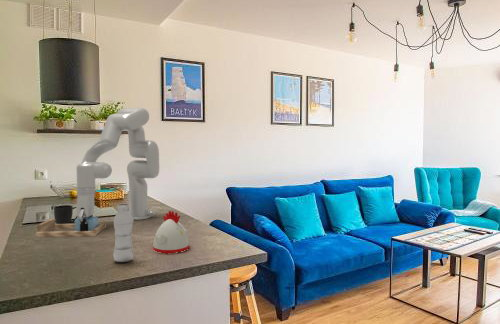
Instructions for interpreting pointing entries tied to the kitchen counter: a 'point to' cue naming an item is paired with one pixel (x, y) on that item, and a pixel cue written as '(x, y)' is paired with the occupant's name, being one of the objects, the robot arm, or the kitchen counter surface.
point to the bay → (50, 225)
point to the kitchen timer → (171, 235)
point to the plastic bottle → (123, 234)
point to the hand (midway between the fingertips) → (86, 230)
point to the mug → (64, 214)
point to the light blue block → (91, 223)
